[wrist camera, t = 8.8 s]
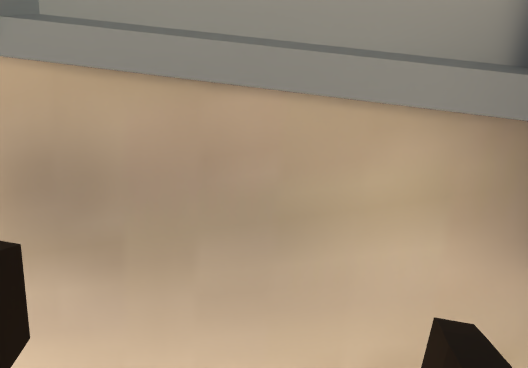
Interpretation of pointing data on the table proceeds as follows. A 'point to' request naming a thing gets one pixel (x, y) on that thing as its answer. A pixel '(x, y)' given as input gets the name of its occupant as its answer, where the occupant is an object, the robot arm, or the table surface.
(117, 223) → the table surface
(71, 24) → the caddy
